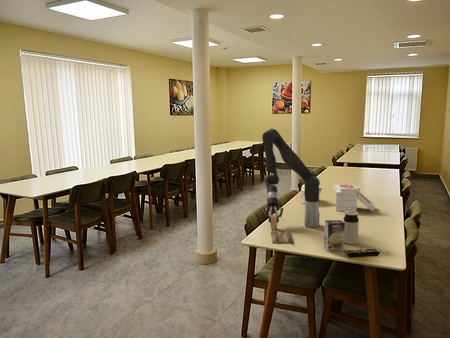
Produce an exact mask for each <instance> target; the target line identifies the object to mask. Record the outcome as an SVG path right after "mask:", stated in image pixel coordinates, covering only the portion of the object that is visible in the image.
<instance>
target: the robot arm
mask: <svg viewBox="0 0 450 338" xmlns="http://www.w3.org/2000/svg"><path fill="white" fill-rule="evenodd" d="M261 137H262V143H263V148H264V149H263V150H264V154H265V155H264V156H265V168H266V172H267V173H269V174H266V175H264V177H263V182H264V185H265V187H266V203H267V205H266V207H263V208H262V212H263V213H264V216H265V218H268V223H269V224H270V223H271V217H270V215H277V224H278V223H279V222H280V218H282V217H283V216H282V215H283V213H284V208H283V207H280V206H279V196H278V195H279V194H278V187H277V186H276V185H278V184H279V182H280V177H279V175H278V171H277V160H276V154H275V153H274V146H275V147H276V148H277V150H278V152H279V154H280V157H281V159H282V160H283V162H284V163H285V165H287V166H288V168H289V169H290V170H292V171H293V172H294V173H296V174H297V175H298V176H299V177H300V178H301V179H302V181H303V182H304V184H305V203H304V226H305V227H307V228H319V227H320V196H319V187H320V185H321V182H320V179H319V177H317V176H316V175H315V174H314V173H313V172H312V171H311V170H310V169H309V168H308V167H307V165H306V164H305V163H304V161H303V160H302V159H301V158H300V157H299V156H298V155H297V154H296V152H294V150H293V149H292V148H291V146H289V145H288V143H287V142H286V141H285V140H284V138H283V137H282V135H281V134H280V133H279V131H278V130H277V129H275V128H270V129H267V130H266V131H264V132H263V133H262V135H261ZM267 211H268V212H267Z"/></svg>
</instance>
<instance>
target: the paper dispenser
mask: <svg viewBox="0 0 450 338" xmlns="http://www.w3.org/2000/svg"><path fill="white" fill-rule="evenodd" d="M333 189H334V190H335V211H336V212H344V213H345V212H346V211H355V212H357V208H358V207H357V206H358V205H357V204H358V201H359V202H360V203H362V204H363V206H365V207H367V209H369V210H370V211H371V212H373V211H374V210H375V209H376V206H375V205H374V202H372V201H371V200H370V199H368V197H366V196H365V195H364V194H362V192H361V187H358V186H356V185H354V184H333Z"/></svg>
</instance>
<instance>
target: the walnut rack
mask: <svg viewBox="0 0 450 338" xmlns="http://www.w3.org/2000/svg"><path fill="white" fill-rule="evenodd" d="M276 230H277V228H273V231H270V236H271V242H272V244H294V240H293V237H292V233H291V231H289V230H288V228H285V230H283V231H278V230H277V231H276Z"/></svg>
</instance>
